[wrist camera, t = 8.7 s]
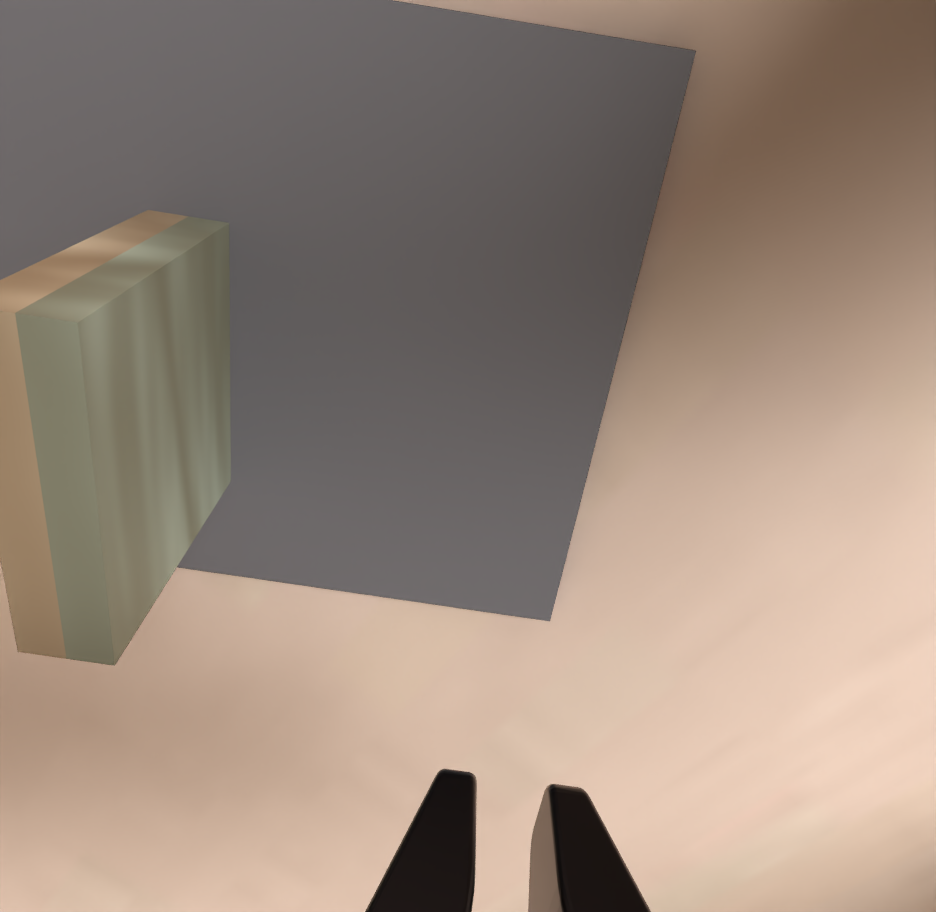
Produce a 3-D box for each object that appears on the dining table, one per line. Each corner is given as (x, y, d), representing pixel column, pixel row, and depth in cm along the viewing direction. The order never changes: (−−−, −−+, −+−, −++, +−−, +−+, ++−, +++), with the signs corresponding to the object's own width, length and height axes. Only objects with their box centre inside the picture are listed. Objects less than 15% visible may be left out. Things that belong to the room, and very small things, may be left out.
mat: (690, 50, 14) (696, 50, 13) (549, 610, 20) (549, 621, 19) (-221, -101, 13) (-241, -105, 13) (-72, 520, 19) (-82, 529, 19)
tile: (228, 222, 15) (78, 322, 10) (231, 481, 18) (114, 665, 13) (148, 210, 15) (-49, 302, 10) (162, 470, 18) (18, 651, 13)
